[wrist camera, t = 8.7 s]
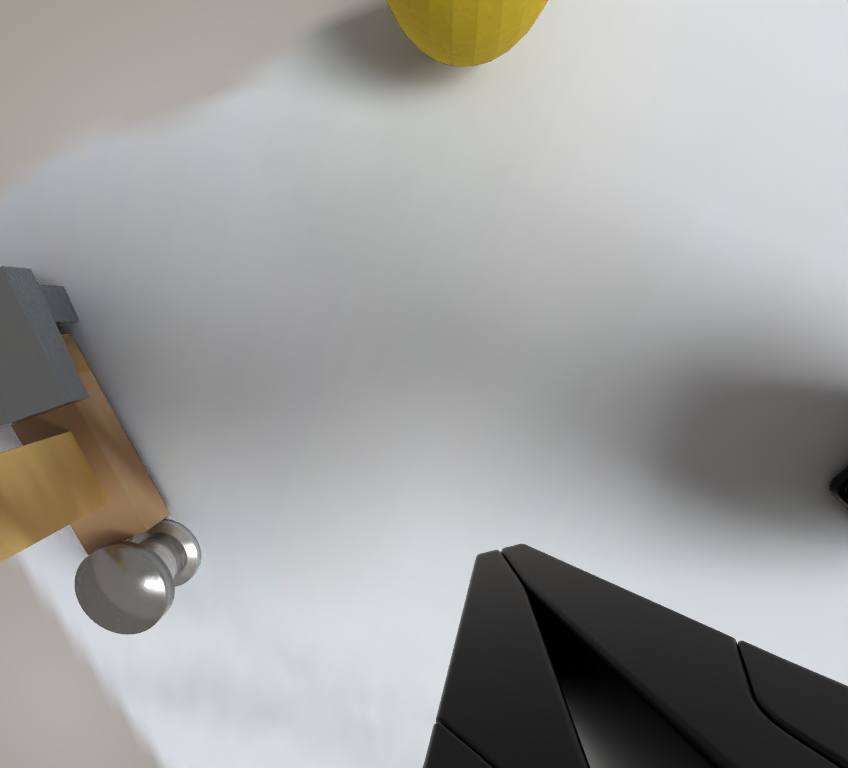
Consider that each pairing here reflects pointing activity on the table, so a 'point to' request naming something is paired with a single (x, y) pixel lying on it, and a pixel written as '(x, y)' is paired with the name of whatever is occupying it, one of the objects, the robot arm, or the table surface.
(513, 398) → the table surface
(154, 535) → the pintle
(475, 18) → the lemon
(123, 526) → the link
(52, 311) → the block
